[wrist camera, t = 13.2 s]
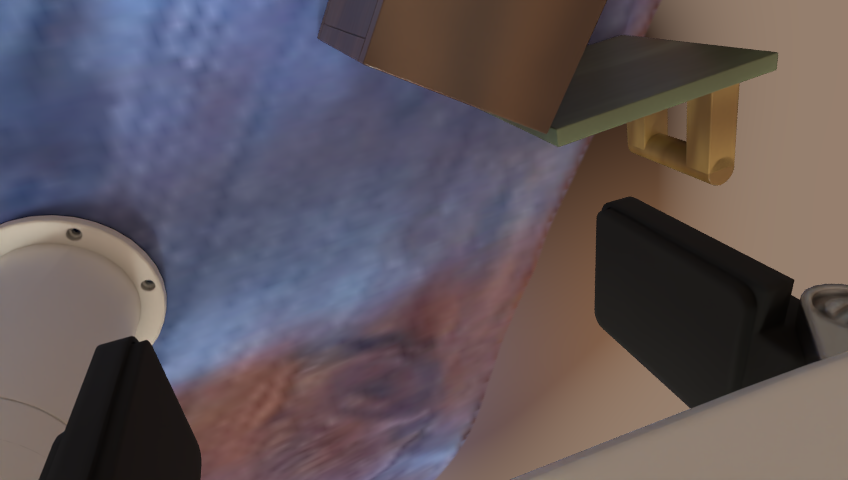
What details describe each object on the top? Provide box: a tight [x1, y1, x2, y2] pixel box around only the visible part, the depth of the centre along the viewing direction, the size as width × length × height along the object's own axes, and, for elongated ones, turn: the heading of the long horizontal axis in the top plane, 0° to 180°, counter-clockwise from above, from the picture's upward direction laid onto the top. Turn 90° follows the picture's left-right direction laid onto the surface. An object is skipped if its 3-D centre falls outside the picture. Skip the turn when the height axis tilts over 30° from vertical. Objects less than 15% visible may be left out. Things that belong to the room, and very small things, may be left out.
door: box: [478, 35, 778, 186], centre depth 36 cm, size 8×14×14 cm, turn 104°
